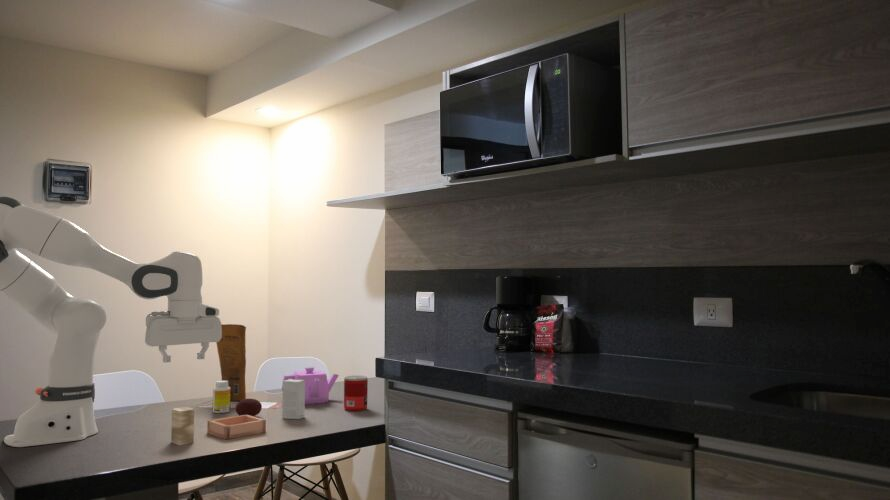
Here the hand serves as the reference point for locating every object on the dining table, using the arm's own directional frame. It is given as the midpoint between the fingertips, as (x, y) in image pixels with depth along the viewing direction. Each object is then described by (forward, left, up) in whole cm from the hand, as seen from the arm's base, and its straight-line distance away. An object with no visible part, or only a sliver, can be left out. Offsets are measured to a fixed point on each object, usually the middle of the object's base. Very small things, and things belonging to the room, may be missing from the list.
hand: (184, 360), depth 178 cm
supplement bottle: (+27, +30, -22) cm, 46 cm away
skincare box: (+39, +5, -22) cm, 45 cm away
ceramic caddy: (+16, -1, -22) cm, 27 cm away
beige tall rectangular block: (0, -1, -22) cm, 22 cm away
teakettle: (+60, +26, -22) cm, 69 cm away
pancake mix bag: (+41, +50, -22) cm, 68 cm away
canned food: (+62, +2, -22) cm, 66 cm away
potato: (+29, +16, -22) cm, 40 cm away
